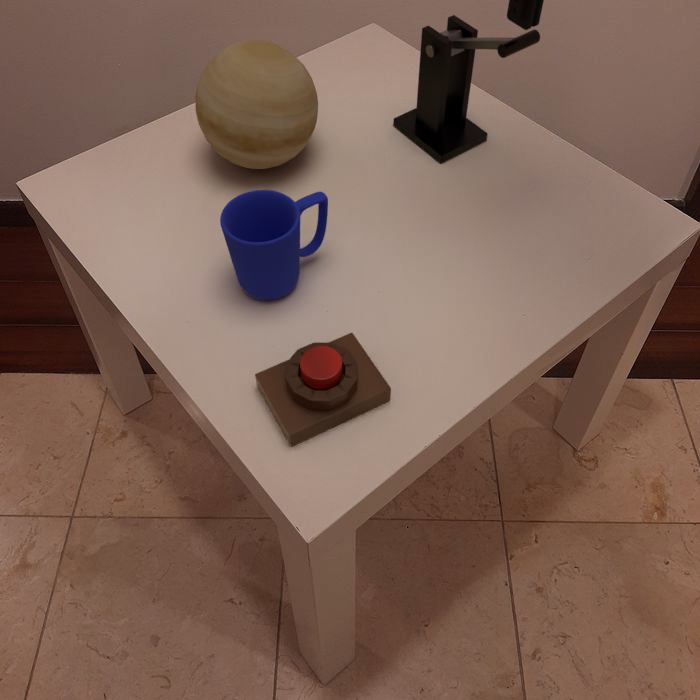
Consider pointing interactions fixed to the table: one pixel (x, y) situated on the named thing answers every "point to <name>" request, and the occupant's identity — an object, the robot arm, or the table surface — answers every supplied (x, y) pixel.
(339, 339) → the button block
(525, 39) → the switch lever
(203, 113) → the decorative ball
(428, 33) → the switch bracket
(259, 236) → the mug
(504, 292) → the table surface
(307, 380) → the power button
